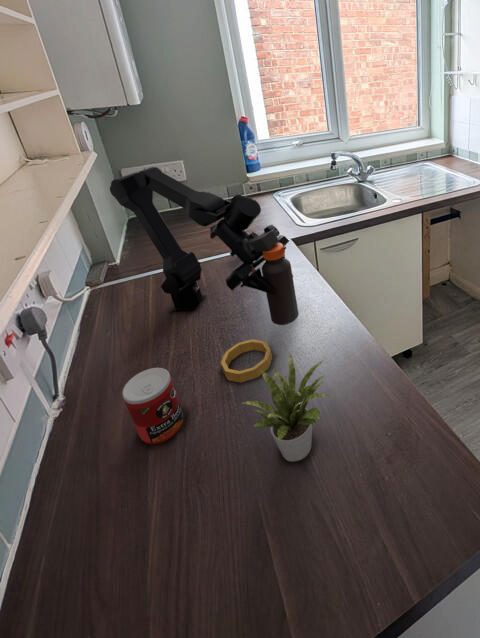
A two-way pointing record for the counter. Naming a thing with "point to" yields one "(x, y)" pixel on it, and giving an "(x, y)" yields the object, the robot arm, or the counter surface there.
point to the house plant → (290, 412)
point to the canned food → (153, 405)
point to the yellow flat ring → (251, 372)
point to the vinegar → (280, 285)
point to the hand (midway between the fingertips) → (284, 285)
